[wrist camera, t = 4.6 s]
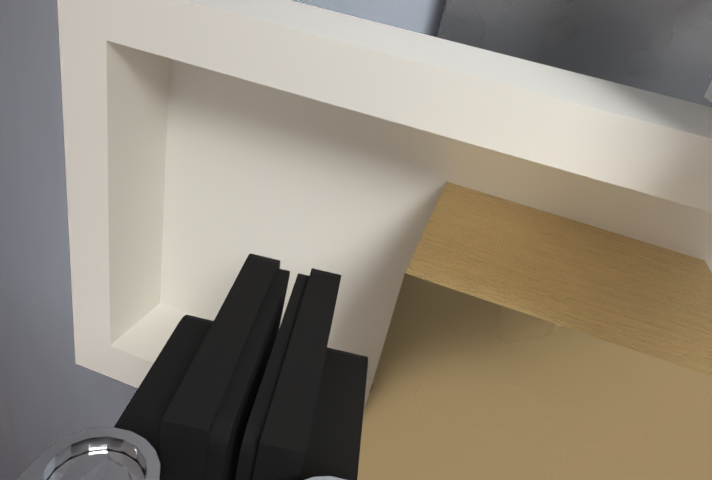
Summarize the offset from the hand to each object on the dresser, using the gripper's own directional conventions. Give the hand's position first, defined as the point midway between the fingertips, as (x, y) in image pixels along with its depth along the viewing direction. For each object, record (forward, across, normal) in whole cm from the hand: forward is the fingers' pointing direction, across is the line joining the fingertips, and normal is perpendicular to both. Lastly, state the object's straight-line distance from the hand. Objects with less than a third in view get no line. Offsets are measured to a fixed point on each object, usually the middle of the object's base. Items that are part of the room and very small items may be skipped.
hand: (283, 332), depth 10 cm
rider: (+2, -5, 0) cm, 5 cm away
